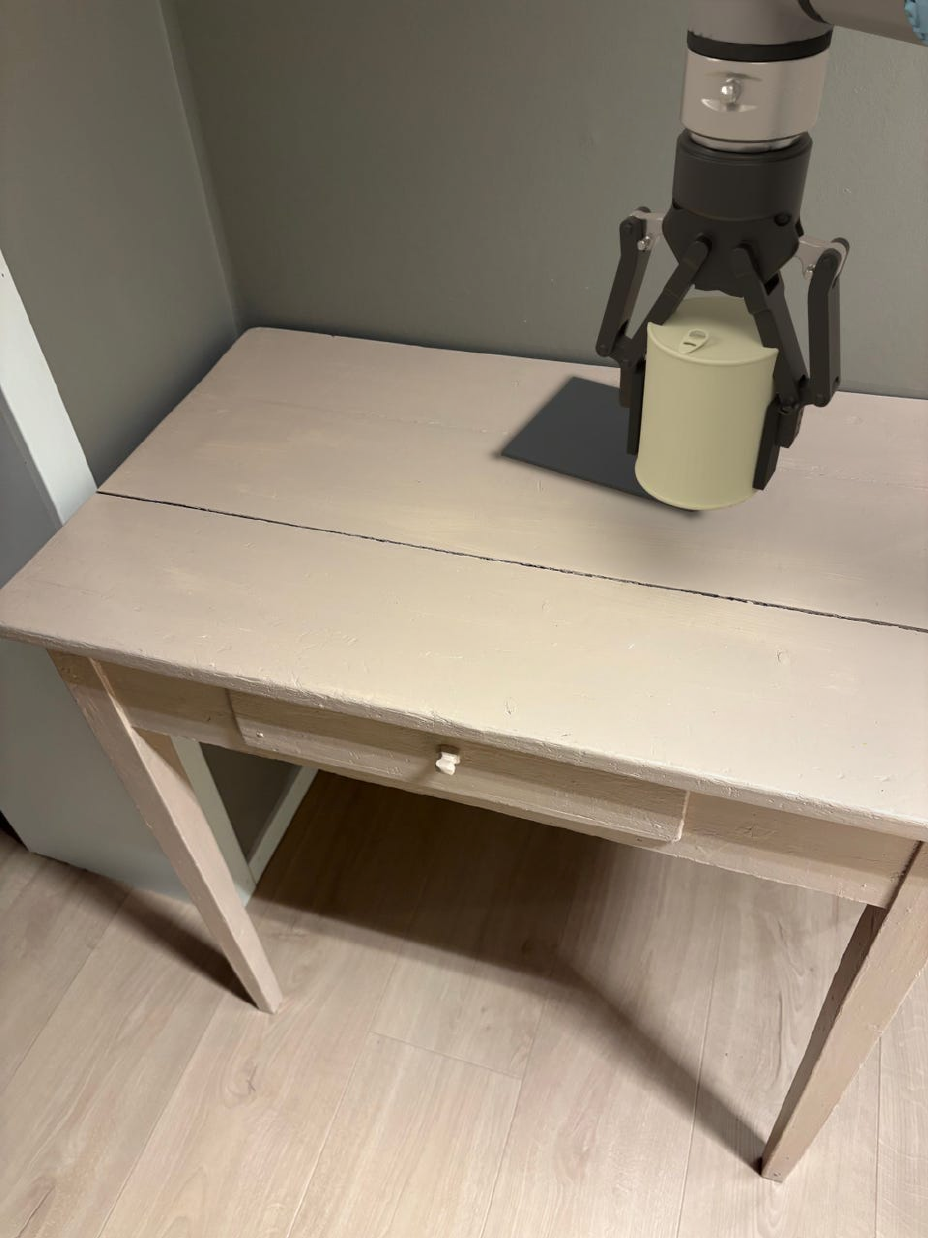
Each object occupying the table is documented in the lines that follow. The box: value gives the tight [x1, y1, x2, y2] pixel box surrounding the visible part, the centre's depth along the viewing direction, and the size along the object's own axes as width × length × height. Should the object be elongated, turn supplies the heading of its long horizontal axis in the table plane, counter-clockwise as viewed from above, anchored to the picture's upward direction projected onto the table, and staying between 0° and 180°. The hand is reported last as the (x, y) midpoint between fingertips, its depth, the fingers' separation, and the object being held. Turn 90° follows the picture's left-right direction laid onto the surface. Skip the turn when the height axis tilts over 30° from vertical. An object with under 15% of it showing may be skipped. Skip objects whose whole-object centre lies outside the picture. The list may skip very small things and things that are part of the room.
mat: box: [500, 376, 694, 513], centre depth 96 cm, size 20×16×1 cm
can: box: [635, 295, 779, 511], centre depth 66 cm, size 9×9×12 cm
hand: (699, 461), depth 70 cm, fingers closed on can, 9 cm apart
